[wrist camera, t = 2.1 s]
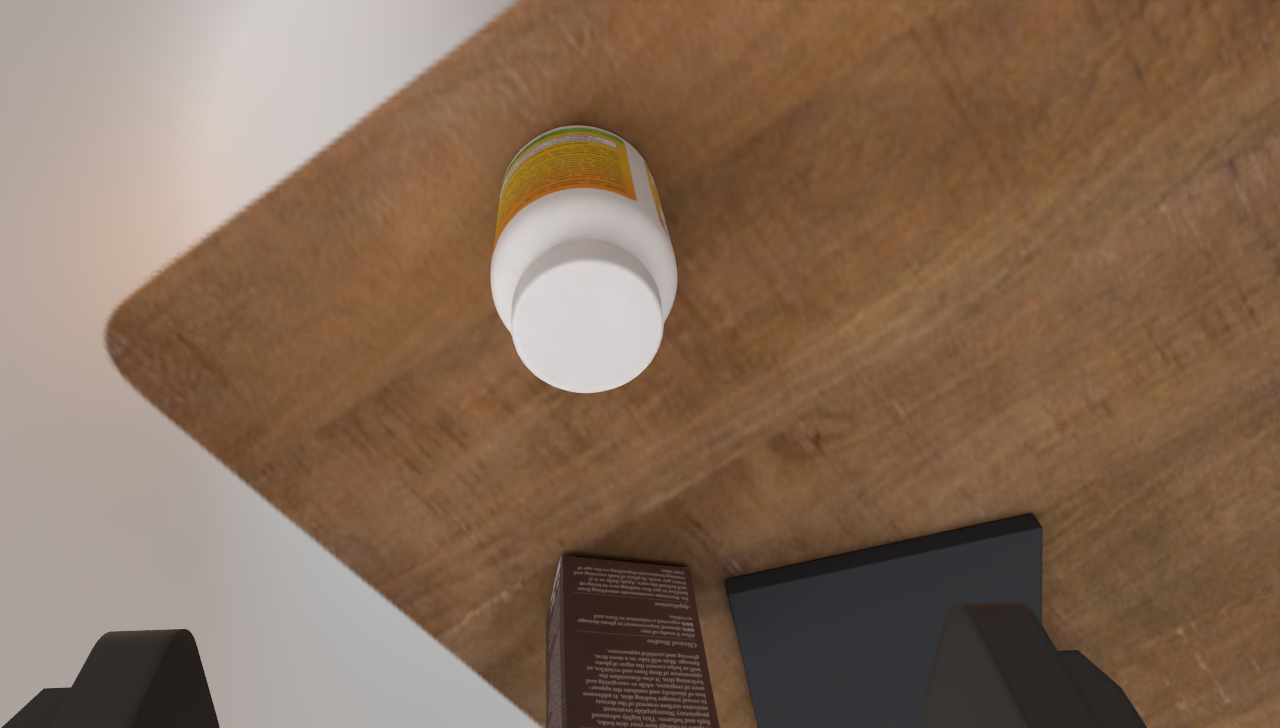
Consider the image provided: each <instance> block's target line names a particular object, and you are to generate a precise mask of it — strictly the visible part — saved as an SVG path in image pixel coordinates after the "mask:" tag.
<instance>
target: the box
mask: <svg viewBox="0 0 1280 728" xmlns="http://www.w3.org/2000/svg"><path fill="white" fill-rule="evenodd" d="M546 728H720V727H719V722H718V717H717V712H716V707H715V702H714V697H713V691H712V687H711V682H710V677H709V671H708V666H707V661H706V655H705V650H704V645H703V638H702V634H701V629H700V622H699V618H698V612H697V607H696V601H695V594H694V589H693V584H692V579H691V574H690V571H689V569H688V568H687V567H675V566H664V565H653V564H643V563H633V562H623V561H613V560H603V559H593V558H582V557H574V556H565V555H562V556H561V558H560V561H559V564H558V566H557V573H556V577H555V582H554V585H553V592H552V596H551V601H550V606H549V610H548V613H547V619H546Z"/></svg>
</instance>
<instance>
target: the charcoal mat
mask: <svg viewBox="0 0 1280 728" xmlns="http://www.w3.org/2000/svg"><path fill="white" fill-rule="evenodd" d="M725 584H726V589H727V593H728V598H729V602H730V606H731V611H732V615H733V619H734V624H735V628H736V633H737V637H738V641H739V646H740V650H741V655H742V659H743V663H744V668H745V672H746V677H747V681H748V685H749V690H750V694H751V698H752V703H753V707H754V712H755V716H756V720H757V725H758V728H923V720H922V707H923V699H924V694H925V690H926V687H927V683H928V679H929V675H930V672H931V668H932V664H933V661H934V657H935V653H936V649H937V646H938V642H939V638H940V635H941V631H942V627H943V623H944V620H945V617H946V614H947V612H948V610H949V609H950V607H951V606H953V605H959V604H988V603H1016V602H1021V603H1024V604H1025V605H1027V606H1028V607H1029V608H1030V609H1031V610H1032V611H1033V612H1034V614H1035V615H1036V617H1037V618H1038V620H1039V621H1040V623H1042V526H1041V525H1040V523H1039V522H1038V520H1037V519H1036V517H1035V516H1034V514H1028V515H1023V516H1019V517H1014V518H1009V519H1005V520H1000V521H996V522H991V523H986V524H982V525H977V526H973V527H968V528H963V529H959V530H954V531H949V532H945V533H940V534H936V535H931V536H926V537H922V538H917V539H913V540H908V541H903V542H899V543H894V544H889V545H885V546H880V547H876V548H871V549H866V550H862V551H857V552H853V553H848V554H843V555H839V556H834V557H829V558H825V559H820V560H816V561H811V562H806V563H802V564H797V565H793V566H788V567H783V568H779V569H774V570H769V571H765V572H760V573H756V574H751V575H746V576H742V577H737V578H733V579H728V580H725Z"/></svg>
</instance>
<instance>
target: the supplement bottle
mask: <svg viewBox="0 0 1280 728" xmlns="http://www.w3.org/2000/svg"><path fill="white" fill-rule="evenodd" d="M676 289H677V267H676V260H675V255H674V250H673V246H672V243H671V240H670V236H669V233H668V229H667V226H666V222H665V218H664V214H663V210H662V207H661V203H660V199H659V195H658V192H657V188H656V185H655V182H654V179H653V176H652V174H651V172H650V170H649V168H648V166H647V164H646V162H645V161H644V159H643V158H642V156H641V155H640V154H639V153H638V151H637V150H636V149H635V148H634V147H633V146H632V145H630V144H629V143H628V142H626V141H625V140H624V139H622V138H621V137H619V136H617V135H615V134H613V133H611V132H609V131H606V130H603V129H600V128H596V127H591V126H582V125H573V126H564V127H559V128H555V129H552V130H550V131H547V132H545V133H543V134H541V135H539V136H537V137H536V138H534V139H533V140H531V141H530V142H529V143H527V144H526V145H525V146H524V147H523V148H522V149H521V150H520V151H519V152H518V153H517V155H516V156H515V157H514V159H513V160H512V162H511V163H510V165H509V167H508V169H507V172H506V174H505V177H504V180H503V183H502V187H501V192H500V199H499V208H498V217H497V225H496V233H495V240H494V247H493V254H492V261H491V290H492V295H493V300H494V303H495V306H496V309H497V312H498V314H499V316H500V318H501V320H502V321H503V323H504V325H505V326H506V328H507V329H508V330H509V332H510V333H511V334H512V338H513V342H514V345H515V348H516V350H517V352H518V355H519V356H520V358H521V360H522V361H523V363H524V364H525V365H526V366H527V368H528V369H529V370H530V371H531V372H532V373H533V374H534V375H536V376H537V377H538V378H540V379H541V380H543V381H544V382H546V383H548V384H550V385H552V386H554V387H557V388H559V389H563V390H566V391H571V392H578V393H594V392H602V391H606V390H610V389H614V388H616V387H619V386H621V385H624V384H625V383H627V382H629V381H631V380H632V379H633V378H635V377H636V376H638V375H639V374H640V373H641V372H642V371H643V370H644V369H645V368H646V367H647V366H648V365H649V364H650V362H651V361H652V360H653V358H654V356H655V354H656V353H657V351H658V348H659V346H660V343H661V339H662V335H663V324H664V322H665V320H666V319H667V317H668V315H669V312H670V310H671V308H672V305H673V302H674V299H675V295H676Z"/></svg>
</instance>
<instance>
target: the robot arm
mask: <svg viewBox="0 0 1280 728" xmlns="http://www.w3.org/2000/svg"><path fill="white" fill-rule="evenodd" d="M922 720H923V728H1147V727H1146V725H1145V724H1144V722H1143V721H1142V719H1141V718H1140V716H1139V714H1138V713H1137V711H1136V710H1135V708H1134V707H1133V705H1132V704H1131V702H1130V701H1129V699H1128V698H1127V696H1126V695H1125V693H1124V692H1123V690H1122V688H1121V687H1120V686H1118V685H1117V684H1116V683H1115V682H1114V681H1113V680H1112V679H1110V678H1109V677H1108V676H1107V675H1106V674H1105V673H1103V672H1102V671H1101V670H1100V669H1099V668H1098V667H1096V666H1095V665H1094V664H1093V663H1092V662H1091V661H1090V660H1088V659H1087V658H1086V657H1085V656H1084V655H1083V654H1081V653H1080V652H1079V651H1078V650H1068V651H1057V650H1056V648H1055V646H1054V645H1053V643H1052V641H1051V640H1050V638H1049V636H1048V635H1047V633H1046V631H1045V630H1044V628H1043V626H1042V625H1041V623H1040V621H1039V620H1038V618H1037V617H1036V615H1035V614H1034V612H1033V611H1032V610H1031V609H1030V608H1029V607H1028V606H1027V605H1025V604H1024V603H1021V602H1016V603H988V604H959V605H953V606H951V607H950V609H949V610H948V612H947V614H946V617H945V620H944V623H943V627H942V631H941V635H940V638H939V642H938V646H937V649H936V653H935V657H934V661H933V664H932V668H931V672H930V675H929V679H928V683H927V687H926V690H925V694H924V699H923V707H922ZM2 728H219V723H218V720H217V716H216V713H215V709H214V705H213V702H212V698H211V695H210V691H209V688H208V684H207V680H206V677H205V674H204V670H203V666H202V663H201V659H200V655H199V652H198V648H197V645H196V642H195V639H194V637H193V635H192V633H191V632H190V631H189V630H186V629H175V630H146V631H118V632H108V633H106V634H104V635H103V636H102V637H101V638H100V639H99V640H98V641H97V643H96V644H95V646H94V647H93V649H92V651H91V653H90V654H89V656H88V658H87V660H86V662H85V664H84V665H83V667H82V669H81V671H80V673H79V675H78V677H77V678H76V680H75V682H74V684H73V685H72V687H71V688H49V689H48V688H47V689H43V690H42V691H41V692H40V693H39V694H38V695H36V696H35V697H34V698H33V699H32V700H31V701H30V702H29V703H28V704H27V705H26V706H25V707H24V708H22V709H21V710H20V711H19V712H18V713H17V714H16V715H15V716H14V717H13V718H12V719H10V721H8V723H6V724H5V725H4V726H3V727H2Z"/></svg>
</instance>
